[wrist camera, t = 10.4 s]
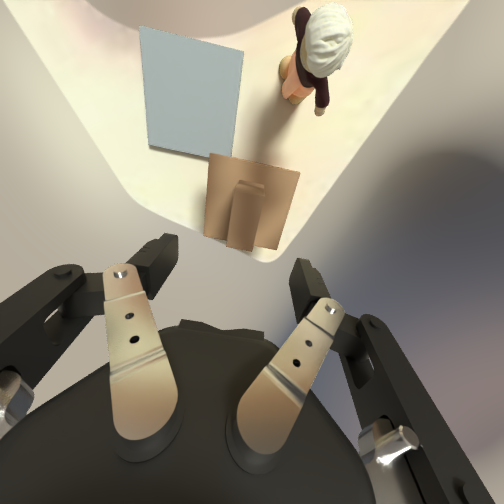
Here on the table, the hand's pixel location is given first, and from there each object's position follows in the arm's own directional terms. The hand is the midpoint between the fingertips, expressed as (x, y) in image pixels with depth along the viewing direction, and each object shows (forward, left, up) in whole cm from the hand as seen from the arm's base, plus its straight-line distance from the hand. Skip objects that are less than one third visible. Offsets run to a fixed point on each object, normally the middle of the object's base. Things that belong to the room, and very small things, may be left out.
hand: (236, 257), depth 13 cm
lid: (0, 0, -13) cm, 13 cm away
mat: (-9, +9, -18) cm, 22 cm away
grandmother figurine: (+3, +13, -19) cm, 23 cm away
